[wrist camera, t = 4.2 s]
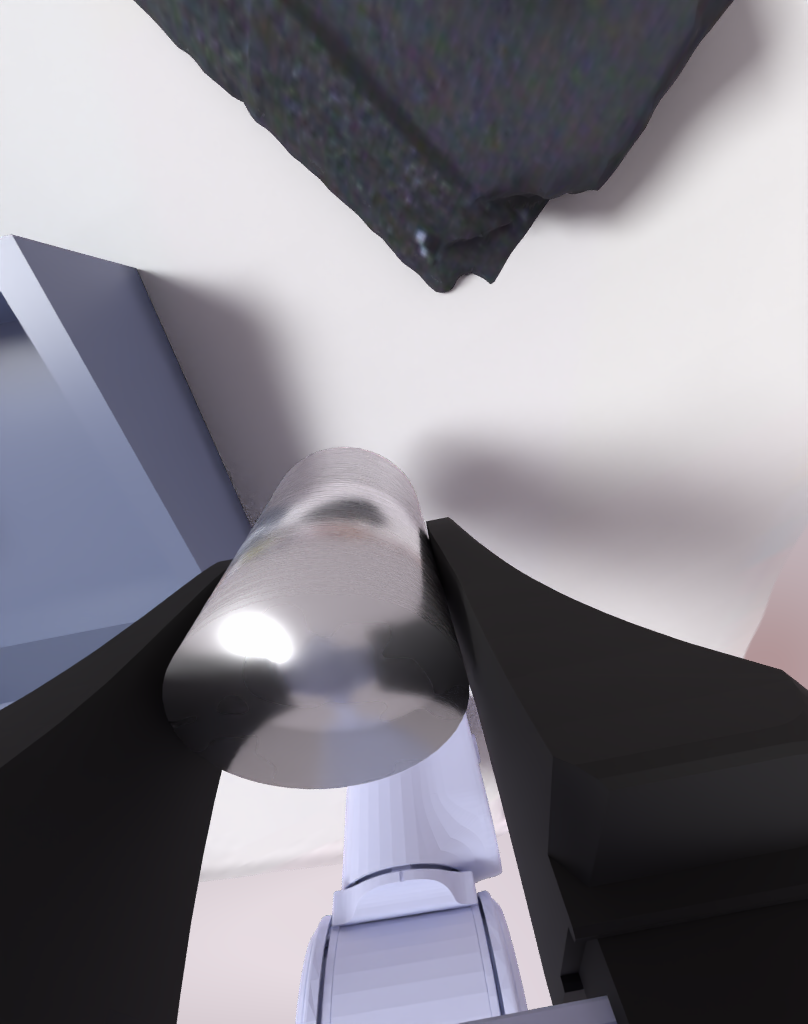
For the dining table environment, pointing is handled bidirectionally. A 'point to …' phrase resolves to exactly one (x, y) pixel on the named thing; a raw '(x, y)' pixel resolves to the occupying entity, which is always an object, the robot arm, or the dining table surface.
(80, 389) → the slate blue tote
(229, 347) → the dining table surface
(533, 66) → the dark slate chunk
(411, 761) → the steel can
